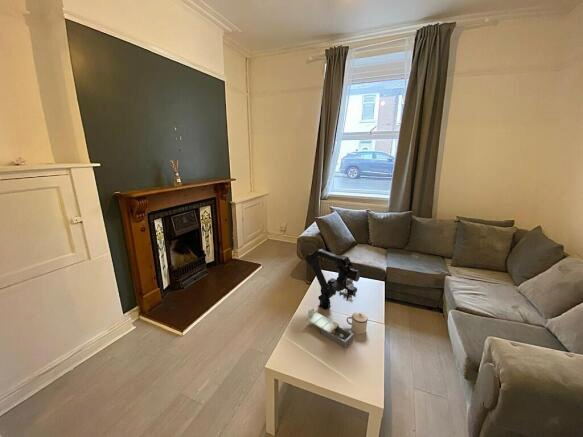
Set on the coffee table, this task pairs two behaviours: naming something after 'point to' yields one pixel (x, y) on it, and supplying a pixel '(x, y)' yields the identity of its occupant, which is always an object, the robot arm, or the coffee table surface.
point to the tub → (335, 337)
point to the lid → (321, 321)
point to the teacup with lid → (358, 322)
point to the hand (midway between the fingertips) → (340, 297)
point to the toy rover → (350, 283)
